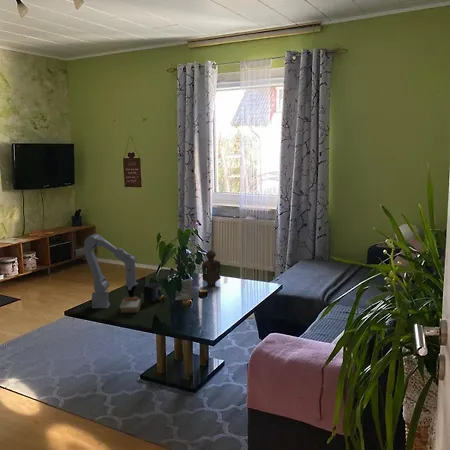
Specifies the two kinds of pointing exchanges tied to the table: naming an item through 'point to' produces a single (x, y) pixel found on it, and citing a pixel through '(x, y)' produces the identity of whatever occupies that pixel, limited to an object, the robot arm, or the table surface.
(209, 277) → the clay figurine
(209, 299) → the table surface
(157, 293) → the small box
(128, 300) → the lid
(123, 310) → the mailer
